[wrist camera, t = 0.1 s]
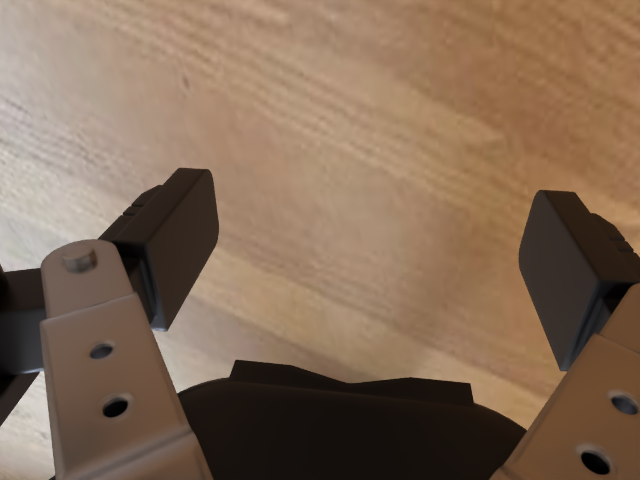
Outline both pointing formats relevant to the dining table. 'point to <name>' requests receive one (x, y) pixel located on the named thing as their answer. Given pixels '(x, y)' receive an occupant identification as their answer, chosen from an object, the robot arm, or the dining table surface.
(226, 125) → the dining table surface
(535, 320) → the dining table surface
